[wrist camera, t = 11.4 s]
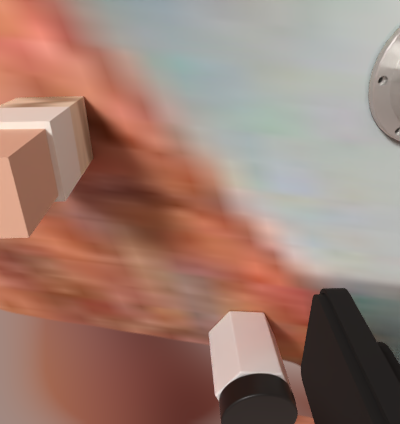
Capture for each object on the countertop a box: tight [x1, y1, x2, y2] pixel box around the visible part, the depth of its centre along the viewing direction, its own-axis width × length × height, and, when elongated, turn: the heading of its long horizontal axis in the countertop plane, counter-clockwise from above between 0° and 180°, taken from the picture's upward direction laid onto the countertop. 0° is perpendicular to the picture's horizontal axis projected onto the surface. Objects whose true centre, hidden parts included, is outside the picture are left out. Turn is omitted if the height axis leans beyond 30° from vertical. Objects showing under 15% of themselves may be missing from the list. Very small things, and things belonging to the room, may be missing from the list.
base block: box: [0, 96, 93, 177], centre depth 32 cm, size 6×6×5 cm
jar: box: [209, 311, 298, 424], centre depth 43 cm, size 9×8×12 cm
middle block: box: [0, 107, 81, 202], centre depth 28 cm, size 6×6×5 cm
